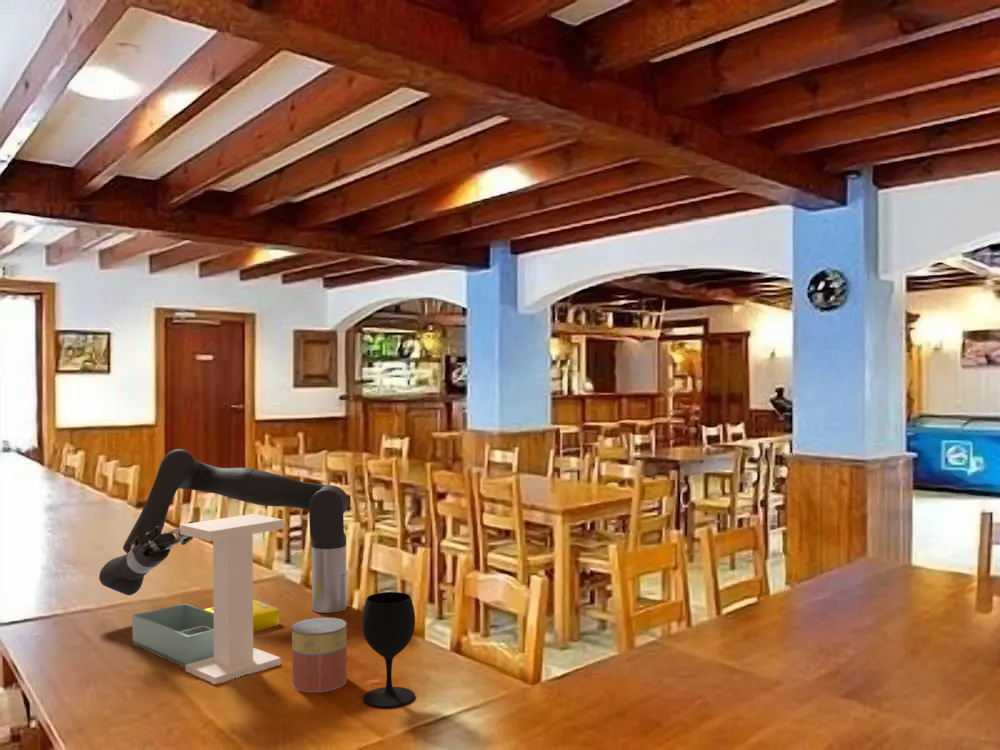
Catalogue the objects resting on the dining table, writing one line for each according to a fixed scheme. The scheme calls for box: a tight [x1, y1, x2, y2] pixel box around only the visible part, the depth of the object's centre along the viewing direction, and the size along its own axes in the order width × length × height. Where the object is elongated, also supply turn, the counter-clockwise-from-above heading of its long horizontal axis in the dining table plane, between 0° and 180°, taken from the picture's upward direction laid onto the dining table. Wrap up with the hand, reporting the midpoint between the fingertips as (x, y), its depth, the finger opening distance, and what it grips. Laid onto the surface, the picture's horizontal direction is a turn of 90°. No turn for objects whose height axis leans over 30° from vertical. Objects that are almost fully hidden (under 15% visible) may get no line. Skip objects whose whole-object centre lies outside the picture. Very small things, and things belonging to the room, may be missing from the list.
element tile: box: [203, 598, 280, 632], centre depth 217 cm, size 15×15×5 cm
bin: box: [131, 603, 214, 668], centre depth 198 cm, size 26×14×7 cm, turn 49°
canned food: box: [291, 616, 348, 693], centre depth 177 cm, size 11×11×12 cm
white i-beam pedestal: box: [179, 513, 285, 685], centre depth 185 cm, size 12×18×32 cm, turn 139°
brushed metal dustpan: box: [166, 626, 212, 635], centre depth 199 cm, size 20×7×4 cm, turn 50°
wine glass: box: [361, 591, 416, 709], centre depth 168 cm, size 10×10×20 cm
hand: (176, 527), depth 201 cm, fingers open, 8 cm apart
